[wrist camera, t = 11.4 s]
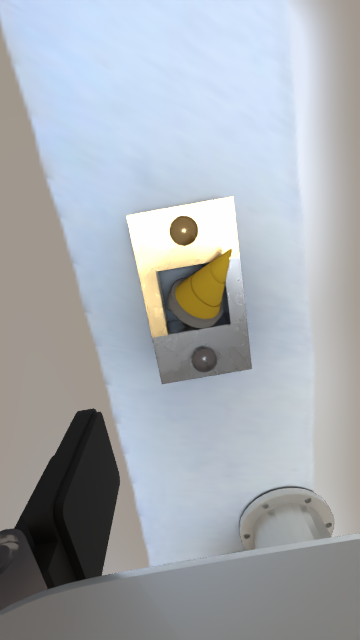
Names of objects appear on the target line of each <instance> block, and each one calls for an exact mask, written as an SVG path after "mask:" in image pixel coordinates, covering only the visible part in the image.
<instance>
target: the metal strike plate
mask: <svg viewBox="0 0 360 640" xmlns="http://www.w3.org/2000/svg"><path fill="white" fill-rule="evenodd" d="M126 217H127V221H128V226H129V231H130V235H131V240H132V245H133V250H134V254H135V259H136V264H137V268H138V273H139V278H140V283H141V287H142V292H143V297H144V301H145V306H146V311H147V316H148V320H149V325H150V330H151V335H152V339H153V344H154V349H155V353H156V358H157V363H158V368H159V372H160V377H161V382H162V384H166V383H172V382H178V381H183V380H189V379H195V378H201V377H207V376H213V375H219V374H225V373H231V372H236V371H242V370H248V369H252V365H251V356H250V347H249V337H248V328H247V319H246V310H245V300H244V291H243V282H242V273H241V263H240V254H239V245H238V236H237V226H236V217H235V208H234V199H233V196H232V197H227V198H221V199H215V200H210V201H204V202H199V203H193V204H188V205H182V206H176V207H171V208H165V209H160V210H154V211H149V212H143V213H137V214H132V215H126ZM229 249H232V254H231V257H230V258H229V259H230V263H229V268H228V273H227V277H226V281H225V287H224V291H223V296H222V304H223V313H222V315H221V317H220V318H219V319H218V321H217V322H216V323H215V324H214V325H213V326H211V327H208V328H196V327H192V326H190V325H188V324H185V323H184V322H182V321H181V320H177V321H171V322H168V320H167V314H166V309H165V304H164V299H163V293H162V288H161V283H160V278H159V273H158V271H163V270H169V269H174V268H180V267H186V266H191V265H197V264H203V263H208V262H212V261H213V260H215V259H216V258H218V257H219V256H221V255H222V254H224V253H225V252H226V251H228V250H229Z"/></svg>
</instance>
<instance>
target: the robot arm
mask: <svg viewBox="0 0 360 640" xmlns="http://www.w3.org/2000/svg"><path fill="white" fill-rule="evenodd" d="M119 485H120V477H119V471H118V468H117V465H116V461H115V457H114V454H113V451H112V447H111V443H110V440H109V436H108V433H107V429H106V426H105V422H104V419H103V416H102V413H101V412H96V410H95V409H88V410H82V411H78V412H77V413H76V415H75V416H74V418H73V420H72V422H71V424H70V426H69V428H68V430H67V432H66V434H65V436H64V438H63V440H62V442H61V444H60V446H59V448H58V449H57V451H56V453H55V455H54V456H53V457H52V458H51V459H50V461H49V463H48V465H47V467H46V469H45V471H44V472H43V475H42V476H41V478H40V480H39V482H38V484H37V486H36V488H35V490H34V492H33V494H32V495H31V497H30V499H29V501H28V503H27V505H26V507H25V509H24V511H23V513H22V515H21V516H20V518H19V521H18V522H17V524H16V526H15V528H14V529H5V530H2V531H0V640H360V533H356V534H351V535H343V536H337V537H331V535H332V532H333V529H334V517H333V514H332V512H331V510H330V508H329V506H328V505H327V503H326V502H325V500H324V499H322V498H321V497H320V496H319V495H317V494H316V493H314V492H311V491H309V490H306V489H300V488H283V489H278V490H274V491H271V492H268V493H266V494H264V495H262V496H260V497H259V498H257V499H256V500H255V501H253V502H252V503H251V504H250V505H249V506H248V507H247V509H246V510H245V511H244V513H243V515H242V517H241V520H240V525H239V529H240V536H241V540H242V543H243V545H244V547H245V548H246V550H247V551H243V552H237V553H231V554H225V555H218V556H212V557H206V558H200V559H194V560H188V561H182V562H176V563H170V564H164V565H158V566H152V567H147V568H142V569H136V570H130V571H125V572H120V573H114V574H109V575H104V576H102V570H103V566H104V560H105V556H106V551H107V546H108V540H109V535H110V530H111V525H112V520H113V515H114V510H115V505H116V500H117V495H118V490H119Z"/></svg>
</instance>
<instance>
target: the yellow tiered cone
mask: <svg viewBox="0 0 360 640" xmlns="http://www.w3.org/2000/svg"><path fill="white" fill-rule="evenodd" d="M231 254H232V249H229V250H228V251H226V252H225V253H224V254H222V255H221V256H219V257H218V258H216V259H215V260H213V261H212V262H210V263H209V264H207V265H206V266H205V267H203V268H202V269H200V270H199V271H197V272H196V273H194V274H193V275H191V276H190V277H188V278H183V279H180V280H178V281H176V282H175V283H174V285H173V286H172V288H171V290H170V292H169V294H168V304H169V305H168V307H167V309H169V310H170V311H172V312H173V313H174V314H175V315H176V317H177V318H179V319H180V320H181V321H182V322H184V323H185V324H188V325H190V326H192V327H196V328H208V327H211V326H213V325H214V324H215V323H216V322H217V321H218V319H219V318H220V317H221V315H222V313H223V304H222V296H223V291H224V287H225V281H226V277H227V273H228V268H229V263H230V259H229V258H230V257H231Z"/></svg>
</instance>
